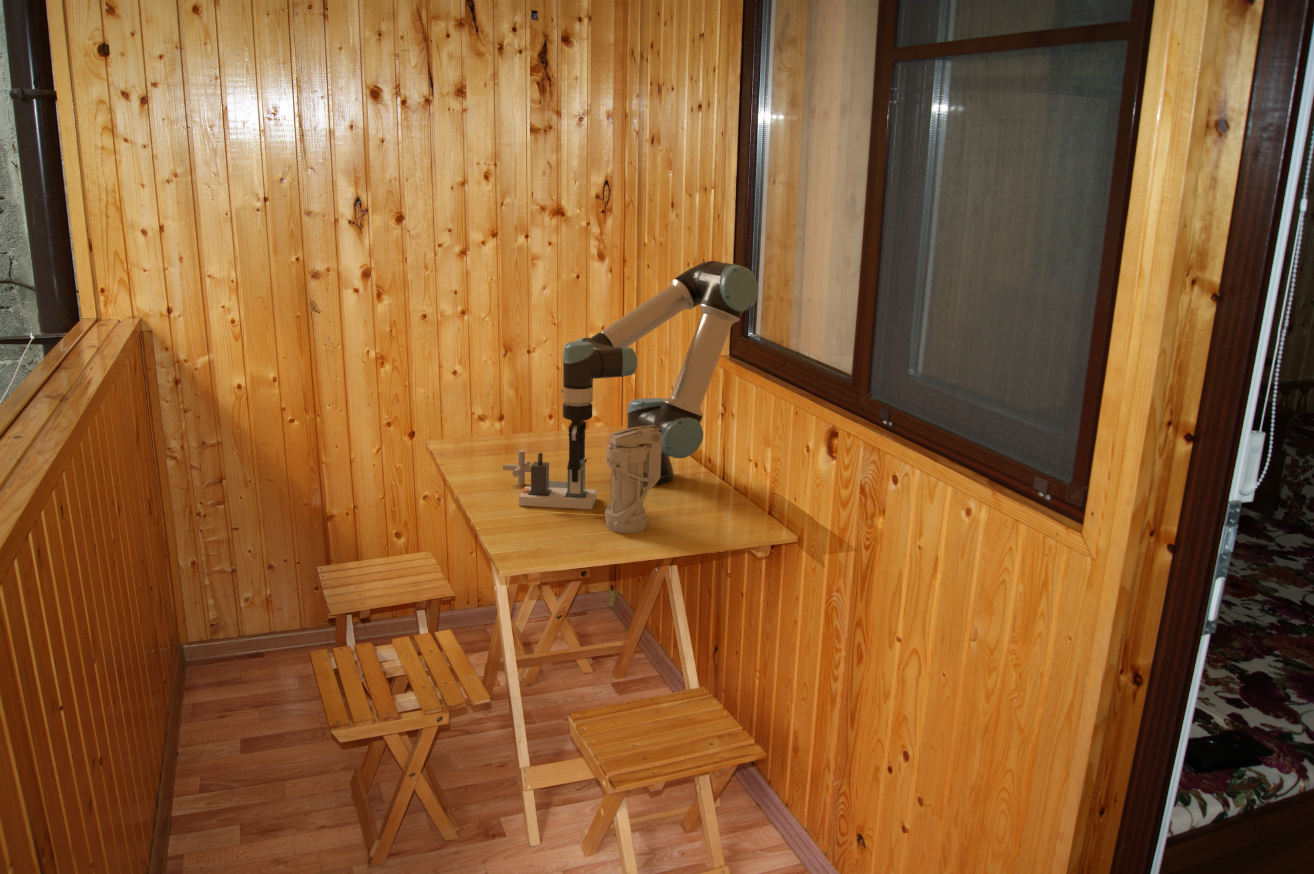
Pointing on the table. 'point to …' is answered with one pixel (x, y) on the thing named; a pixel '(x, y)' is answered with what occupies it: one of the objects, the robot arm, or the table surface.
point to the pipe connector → (519, 467)
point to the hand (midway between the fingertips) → (576, 489)
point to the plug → (582, 494)
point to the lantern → (632, 476)
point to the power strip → (558, 499)
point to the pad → (558, 484)
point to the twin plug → (540, 477)
